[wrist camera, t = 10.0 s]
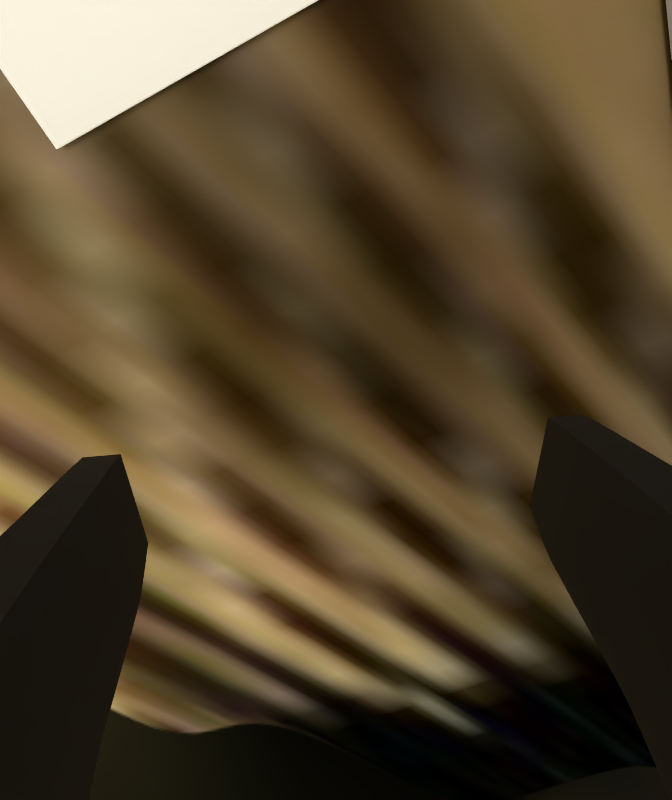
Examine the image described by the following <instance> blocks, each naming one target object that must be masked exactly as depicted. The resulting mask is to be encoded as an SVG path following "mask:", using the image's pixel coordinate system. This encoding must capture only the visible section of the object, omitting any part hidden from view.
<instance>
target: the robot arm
mask: <svg viewBox="0 0 672 800" xmlns="http://www.w3.org/2000/svg"><path fill="white" fill-rule="evenodd" d="M666 8H667V18H668V28H669V38H670V48H671V58H672V0H666ZM530 508H531V511H532V514H533V516H534V519H535V522H536V524H537V527H538V530H539V533H540V535H541V538H542V540H543V543H544V545H545V547H546V550H547V552H548V555H549V557H550V559H551V561H552V563H553V565H554V567H555V569H556V571H557V573H558V574H559V576H560V578H561V580H562V582H563V584H564V585H565V587H566V589H567V591H568V593H569V595H570V596H571V598H572V600H573V602H574V604H575V606H576V607H577V609H578V611H579V613H580V615H581V616H582V618H583V620H584V622H585V624H586V625H587V627H588V629H589V631H590V633H591V634H592V636H593V638H594V640H595V642H596V643H597V645H598V647H599V649H600V651H601V652H602V654H603V656H604V658H605V660H606V661H607V663H608V665H609V667H610V669H611V670H612V672H613V674H614V676H615V678H616V679H617V681H618V683H619V685H620V687H621V689H622V691H623V693H624V695H625V697H626V699H627V701H628V703H629V705H630V707H631V709H632V711H633V714H634V716H635V718H636V721H637V723H638V725H639V727H640V730H641V732H642V734H643V737H644V739H645V741H646V743H647V746H648V748H649V750H650V753H651V755H652V757H653V759H654V762H655V764H656V766H657V768H658V771H659V773H660V775H661V778H662V780H663V783H664V785H665V787H666V790H667V792H668V795H669V797H670V800H672V466H671V465H669V464H668V463H666V462H664V461H663V460H661V459H659V458H657V457H656V456H654V455H652V454H651V453H649V452H647V451H646V450H644V449H642V448H641V447H639V446H637V445H636V444H634V443H632V442H631V441H629V440H627V439H626V438H624V437H622V436H620V435H619V434H617V433H615V432H614V431H612V430H610V429H608V428H607V427H605V426H603V425H601V424H599V423H598V422H596V421H594V420H592V419H590V418H588V417H586V416H584V415H575V416H563V417H552V418H548V421H547V425H546V430H545V435H544V440H543V445H542V450H541V454H540V459H539V464H538V469H537V474H536V479H535V484H534V488H533V493H532V498H531V503H530ZM147 547H148V541H147V538H146V534H145V531H144V528H143V525H142V522H141V518H140V515H139V512H138V509H137V506H136V502H135V499H134V496H133V493H132V489H131V486H130V483H129V480H128V477H127V473H126V470H125V467H124V464H123V460H122V457H121V454H118V455H107V456H95V457H83V458H82V459H81V460H79V461H78V462H77V463H76V464H75V465H74V466H73V467H72V468H71V469H69V470H68V471H67V472H66V473H65V474H64V475H63V476H62V477H61V478H60V479H59V480H58V481H57V482H56V483H55V484H54V485H53V486H52V487H51V488H50V489H49V490H48V491H47V492H46V493H45V494H44V495H43V496H42V497H41V498H40V499H39V500H38V501H36V502H35V503H34V504H33V505H32V506H31V507H30V508H29V509H28V510H27V511H26V512H25V513H24V514H23V515H22V516H21V517H20V518H19V519H18V520H17V521H16V522H15V523H14V524H13V525H12V526H10V527H9V528H8V529H7V530H6V531H5V532H4V533H3V534H2V535H1V536H0V800H89V798H90V793H91V787H92V782H93V776H94V771H95V767H96V762H97V758H98V753H99V749H100V745H101V741H102V737H103V733H104V730H105V726H106V723H107V719H108V715H109V712H110V708H111V705H112V701H113V697H114V694H115V690H116V687H117V683H118V679H119V676H120V672H121V669H122V665H123V661H124V658H125V654H126V651H127V647H128V643H129V639H130V636H131V632H132V628H133V625H134V621H135V617H136V613H137V610H138V606H139V602H140V597H141V590H142V584H143V577H144V570H145V563H146V555H147Z"/></svg>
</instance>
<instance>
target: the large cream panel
mask: <svg viewBox="0 0 672 800" xmlns="http://www.w3.org/2000/svg"><path fill="white" fill-rule="evenodd" d="M317 1H318V0H0V69H1V70H2V72H3V73H4V75H5V76H6V77H7V79H8V80H9V82H10V83H11V85H12V86H13V87H14V89H15V90H16V92H17V93H18V95H19V96H20V98H21V99H22V100H23V102H24V103H25V105H26V106H27V108H28V109H29V110H30V112H31V113H32V115H33V116H34V118H35V119H36V120H37V122H38V123H39V125H40V126H41V128H42V129H43V131H44V132H45V133H46V135H47V136H48V138H49V139H50V141H51V142H52V143H53V145H54V146H55V148H56V149H59V148H61V147H63V146H65V145H67V144H68V143H70V142H72V141H74V140H75V139H77V138H79V137H81V136H82V135H84V134H86V133H88V132H89V131H91V130H93V129H95V128H96V127H98V126H100V125H102V124H103V123H105V122H107V121H109V120H110V119H112V118H114V117H116V116H117V115H119V114H121V113H123V112H124V111H126V110H128V109H129V108H131V107H133V106H135V105H136V104H138V103H140V102H142V101H143V100H145V99H147V98H149V97H150V96H152V95H154V94H156V93H157V92H159V91H161V90H163V89H164V88H166V87H168V86H170V85H171V84H173V83H175V82H177V81H178V80H180V79H182V78H184V77H185V76H187V75H189V74H191V73H192V72H194V71H196V70H198V69H199V68H201V67H203V66H205V65H206V64H208V63H210V62H212V61H213V60H215V59H217V58H219V57H220V56H222V55H224V54H226V53H227V52H229V51H231V50H233V49H234V48H236V47H238V46H240V45H241V44H243V43H245V42H247V41H248V40H250V39H252V38H254V37H255V36H257V35H259V34H261V33H262V32H264V31H266V30H268V29H269V28H271V27H273V26H275V25H276V24H278V23H280V22H282V21H283V20H285V19H287V18H289V17H290V16H292V15H294V14H296V13H297V12H299V11H301V10H303V9H304V8H306V7H308V6H310V5H311V4H313V3H315V2H317Z"/></svg>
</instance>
